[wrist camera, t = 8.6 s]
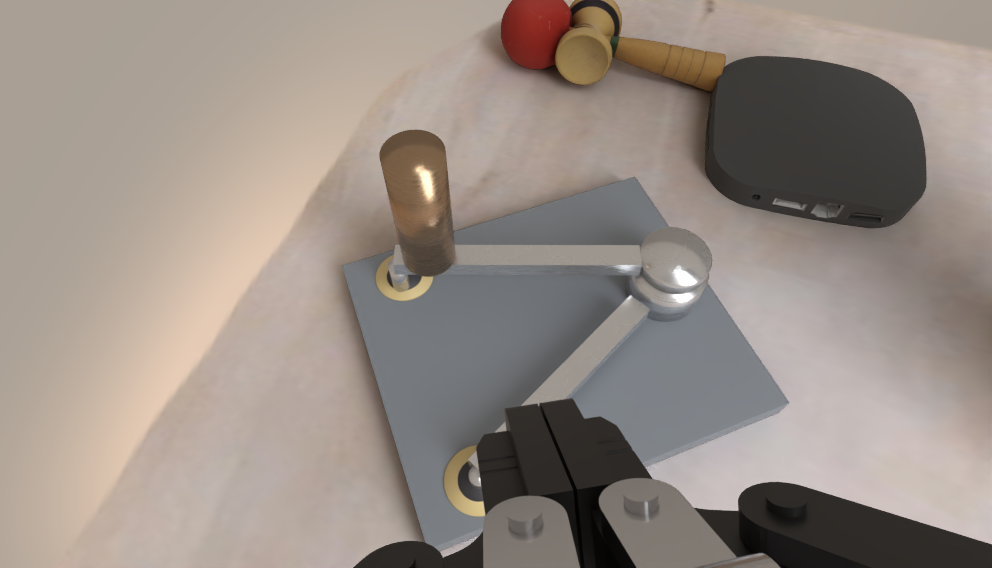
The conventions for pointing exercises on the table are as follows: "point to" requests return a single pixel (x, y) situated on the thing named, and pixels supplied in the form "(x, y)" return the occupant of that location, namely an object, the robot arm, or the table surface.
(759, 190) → the media streaming box
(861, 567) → the robot arm
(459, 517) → the hole plate
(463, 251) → the crank handle
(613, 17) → the kendama
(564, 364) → the divider pivot
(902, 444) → the table surface
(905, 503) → the table surface
